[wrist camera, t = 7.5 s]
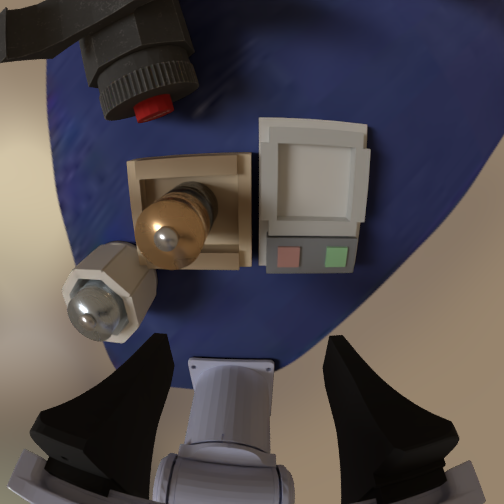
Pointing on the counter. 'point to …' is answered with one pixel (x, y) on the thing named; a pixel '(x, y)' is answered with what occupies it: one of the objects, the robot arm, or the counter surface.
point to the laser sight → (111, 49)
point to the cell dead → (96, 310)
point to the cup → (117, 282)
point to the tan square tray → (224, 188)
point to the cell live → (176, 225)
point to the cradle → (311, 194)
